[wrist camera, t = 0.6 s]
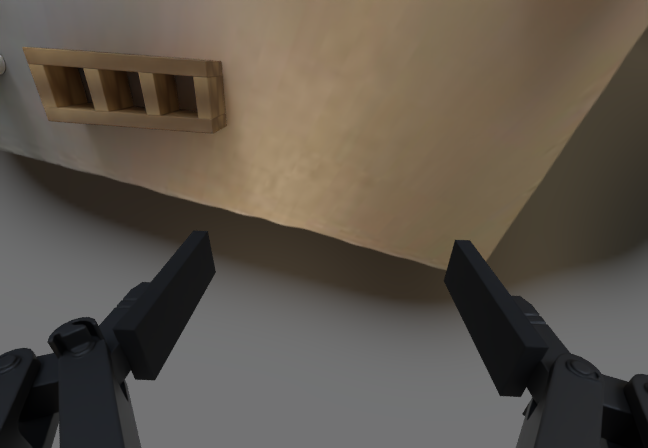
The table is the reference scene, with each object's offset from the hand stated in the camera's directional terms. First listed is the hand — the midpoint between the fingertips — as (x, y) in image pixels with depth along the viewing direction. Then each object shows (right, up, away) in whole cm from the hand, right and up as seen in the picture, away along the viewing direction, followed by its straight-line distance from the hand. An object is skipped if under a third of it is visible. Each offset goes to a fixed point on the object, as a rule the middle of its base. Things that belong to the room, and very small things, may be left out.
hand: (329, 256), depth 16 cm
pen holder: (-23, +19, +22) cm, 37 cm away
